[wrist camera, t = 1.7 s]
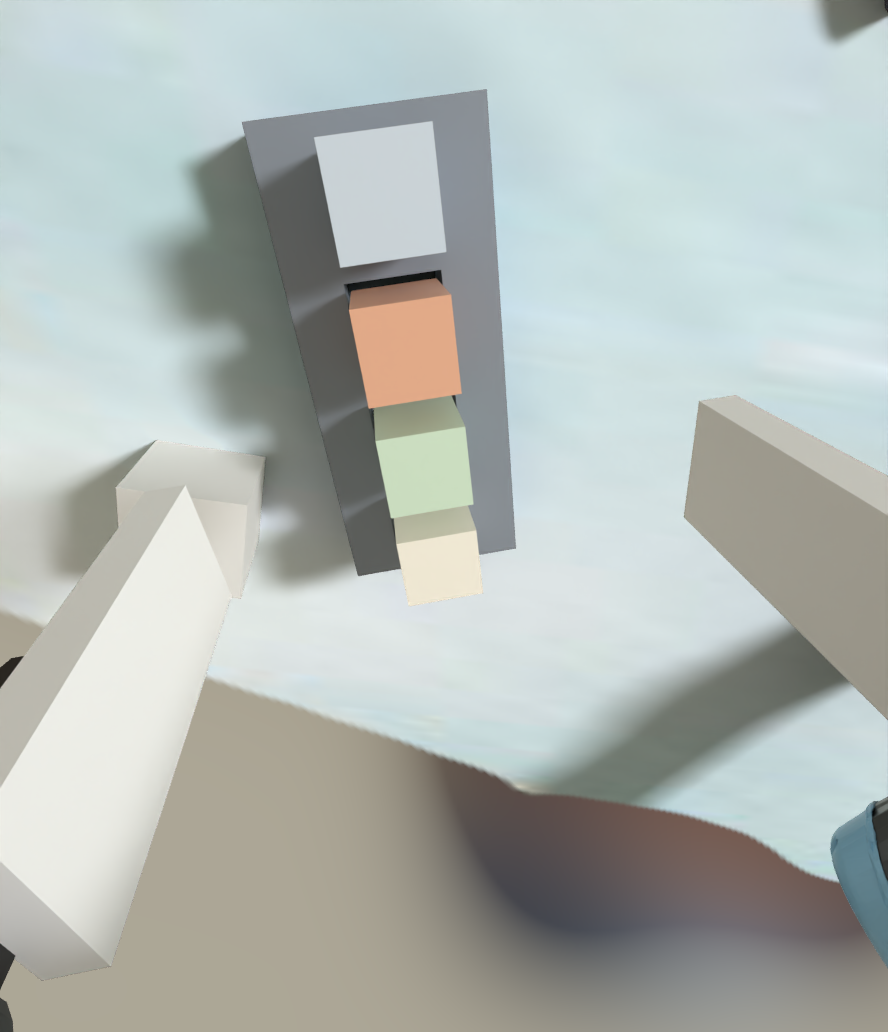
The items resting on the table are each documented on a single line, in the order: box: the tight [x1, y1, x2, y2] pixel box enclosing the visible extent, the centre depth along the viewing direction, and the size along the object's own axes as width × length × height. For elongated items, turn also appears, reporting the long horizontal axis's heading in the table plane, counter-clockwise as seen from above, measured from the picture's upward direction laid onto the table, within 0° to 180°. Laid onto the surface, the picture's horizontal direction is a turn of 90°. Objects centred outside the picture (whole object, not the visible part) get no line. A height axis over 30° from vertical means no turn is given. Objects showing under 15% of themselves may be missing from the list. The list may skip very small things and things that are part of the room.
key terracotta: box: [349, 278, 462, 409], centre depth 24 cm, size 4×4×5 cm
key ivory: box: [394, 505, 483, 606], centre depth 30 cm, size 4×4×5 cm
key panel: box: [242, 89, 516, 576], centre depth 29 cm, size 23×10×3 cm, turn 7°
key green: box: [374, 396, 473, 518], centre depth 27 cm, size 4×4×5 cm
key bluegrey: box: [314, 121, 446, 268], centre depth 21 cm, size 4×4×5 cm
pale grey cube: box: [116, 440, 266, 599], centre depth 30 cm, size 6×6×6 cm
